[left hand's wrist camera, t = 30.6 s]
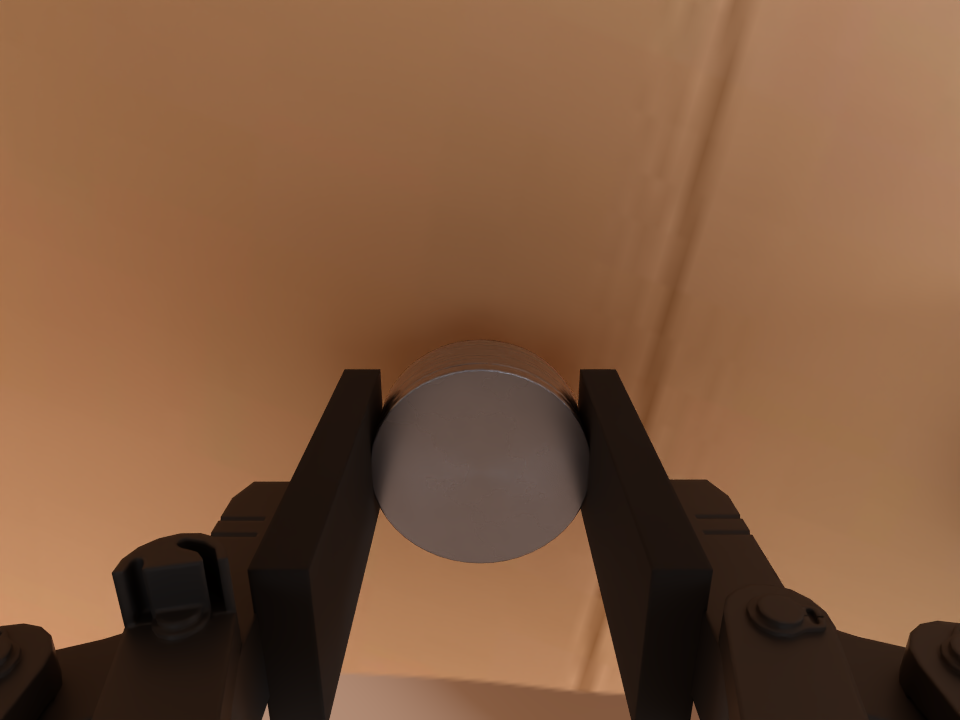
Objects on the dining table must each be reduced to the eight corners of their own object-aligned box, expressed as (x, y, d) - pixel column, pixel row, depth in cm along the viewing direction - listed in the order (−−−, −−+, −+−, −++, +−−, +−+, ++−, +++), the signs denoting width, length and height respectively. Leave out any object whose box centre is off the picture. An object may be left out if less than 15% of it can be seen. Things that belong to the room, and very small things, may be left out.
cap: (556, 316, 14) (566, 344, 12) (597, 493, 15) (610, 538, 14) (354, 366, 14) (338, 399, 13) (413, 534, 16) (406, 582, 14)
